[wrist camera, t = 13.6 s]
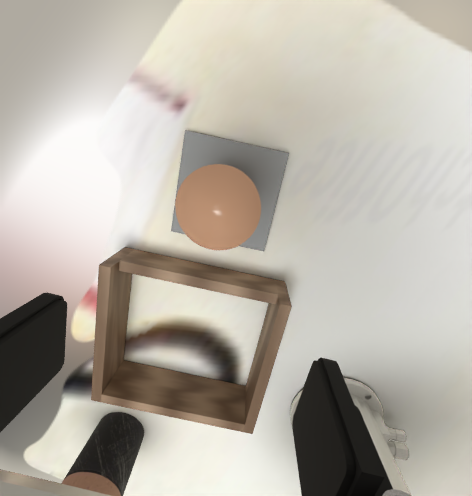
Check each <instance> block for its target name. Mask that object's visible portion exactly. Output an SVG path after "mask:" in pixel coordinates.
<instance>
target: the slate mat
mask: <svg viewBox="0 0 472 496" xmlns="http://www.w3.org/2000/svg"><path fill="white" fill-rule="evenodd" d="M288 156H289V153H287V152H282V151H278V150H273V149H269V148H264V147H259V146H255V145H250V144H246V143H241V142H237V141H232V140H228V139H223V138H219V137H214V136H210V135H205V134H200V133H196V132H191V131H187V130H185V135H184V142H183V149H182V156H181V164H180V171H179V178H178V185H177V192H176V196H177V193H178V190H179V188H180V186H181V184H182V182H183V181H184V180H185V179H186V177H187V176H188V175H190V174H191V173H192V172H193V171H195V170H197V169H199V168H201V167H203V166H207V165H213V164H225V165H229V166H233V167H235V168H237V169H239V170H241V171H243V172H244V173H245V174H246V175H247V176H248V177H249V178H250V179H251V180H252V181H253V183H254V184H255V186H256V188H257V190H258V193H259V197H260V201H261V215H260V220H259V223H258V225H257V228H256V229H255V231H254V233H253V234H252V235H251V236H250V238H248V239H247V240H246V241H245V242H244V243H242V244H241V245H239V246H242V247H247V248H251V249H256V250H260V251H264V250H265V246H266V242H267V238H268V234H269V230H270V226H271V222H272V219H273V215H274V211H275V207H276V203H277V199H278V195H279V191H280V187H281V183H282V179H283V175H284V171H285V167H286V164H287V160H288ZM175 202H176V199H175ZM171 231H173V232H177V233H182V234H185V233H184V232H183V230H182V228H181V227H180V225H179V222H178V219H177V216H176V210H175V207H174V214H173V221H172V228H171Z"/></svg>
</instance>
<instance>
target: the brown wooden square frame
mask: <svg viewBox="0 0 472 496" xmlns="http://www.w3.org/2000/svg"><path fill="white" fill-rule="evenodd" d="M132 274H137V275H141V276H146V277H151V278H155V279H160V280H165V281H169V282H174V283H178V284H183V285H188V286H192V287H197V288H202V289H206V290H211V291H216V292H220V293H225V294H230V295H234V296H239V297H244V298H248V299H253V300H258V301H262V302H267V303H269V305H268V309H267V312H266V316H265V319H264V323H263V327H262V330H261V334H260V337H259V341H258V345H257V348H256V352H255V355H254V359H253V363H252V366H251V370H250V373H249V377H248V381H247V384H246V386H243V385H238V384H234V383H229V382H224V381H219V380H215V379H210V378H205V377H200V376H196V375H191V374H186V373H182V372H177V371H172V370H167V369H163V368H158V367H153V366H148V365H144V364H139V363H134V362H130V361H125V360H124V350H125V340H126V330H127V320H128V310H129V300H130V290H131V280H132ZM291 307H292V306H291V302H290V298H289V295H288V291H287V287H286V283H285V282H284V281H279V280H275V279H270V278H265V277H261V276H256V275H252V274H247V273H242V272H238V271H233V270H228V269H224V268H219V267H214V266H210V265H205V264H201V263H196V262H191V261H187V260H182V259H177V258H173V257H168V256H163V255H159V254H154V253H150V252H145V251H140V250H136V249H131V248H126V247H124V248H123V249H122V250H120V251H119V252H117V253H116V254H114V255H113V256H111V257H110V258H109V259H107V260H106V261H104V262H103V263H101V264H100V265H99V275H98V293H97V310H96V327H95V344H94V345H95V346H94V362H93V379H92V396H91V400H93V401H98V402H103V403H107V404H112V405H117V406H122V407H126V408H131V409H136V410H141V411H146V412H150V413H155V414H160V415H165V416H169V417H174V418H179V419H184V420H188V421H193V422H198V423H203V424H208V425H212V426H217V427H222V428H227V429H231V430H236V431H241V432H246V433H250V434H253V430H254V427H255V424H256V421H257V417H258V414H259V411H260V408H261V404H262V401H263V398H264V395H265V391H266V388H267V385H268V382H269V378H270V375H271V372H272V369H273V365H274V362H275V359H276V356H277V352H278V349H279V346H280V342H281V339H282V336H283V333H284V329H285V326H286V323H287V320H288V316H289V313H290V310H291Z"/></svg>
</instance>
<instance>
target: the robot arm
mask: <svg viewBox="0 0 472 496" xmlns="http://www.w3.org/2000/svg"><path fill="white" fill-rule="evenodd" d="M66 318H67V302H66V301H64V299H63V297H62V296H59V295H55V294H51V293H43V294H41V295H39V296H38V297H36V298H34V299H33V300H31V301H29V302H28V303H26V304H24V305H23V306H21V307H19V308H18V309H16V310H14V311H13V312H11V313H9V314H7V315H6V316H4V317H2V318H1V319H0V432H1V431H2V430H3V429H4V428H5V427H6V426H7V425H8V424H9V423H10V422H11V421H12V420H13V419H14V418H15V417H16V415H18V413H20V411H21V410H22V409H23V408H24V407H25V406H26V405H27V404H28V403H29V402H30V401H31V400H32V399H33V398H34V397H35V396H36V395H37V394H38V393H39V392H40V391H41V390H42V389H43V388H44V386H46V385H47V383H48V382H49V381H50V380H51V379H52V378H53V377H54V376H55V375H56V374H57V373H58V372H59V371H60V370H61V368H62V366H63V364H64V357H65V337H66ZM290 416H291V423H292V427H293V435H294V442H295V449H296V456H297V464H298V471H299V478H300V485H301V493H302V496H411V494H410V491H409V489H408V487H407V485H406V483H405V481H404V479H403V477H402V474H401V472H400V470H399V468H398V466H397V464H396V462H395V460H394V458H398V459H402V460H407V459H408V458H409V450H408V447H407V446H406V444H405V443H401V442H405V441H406V434H405V432H404V431H403V430H399V429H394V428H388V426H387V425H385V423H384V421H383V416H384V412H383V408H382V405H381V403H380V401H379V399H378V397H377V396H376V394H375V393H374V392H373V391H372V390H371V389H370V388H369V387H368V386H366V385H364V384H363V383H361V382H358V381H356V380H352V379H348V378H343V375H342V373H341V370H340V368H339V366H338V363H337V362H336V361H333V360H329V359H325V358H319V360H318V361H313V363H312V366H311V369H310V371H309V374H308V377H307V380H306V382H305V385H304V388H303V390H302V391H300V392H299V393H298V395H297V396H296V397H295V399H294V401H293V403H292V405H291V410H290ZM389 439H393V440H395V441H392V440H390V441H389ZM396 441H400V442H396ZM0 496H111V495H107V494H103V493H98V492H94V491H90V490H86V489H82V488H78V487H73V486H69V485H65V484H60V483H57V482H52V481H48V480H43V479H39V478H35V477H31V476H26V475H22V474H18V473H14V472H9V471H5V470H1V469H0Z"/></svg>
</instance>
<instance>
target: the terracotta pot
mask: <svg viewBox="0 0 472 496" xmlns="http://www.w3.org/2000/svg"><path fill="white" fill-rule="evenodd" d="M175 210H176V216H177V219H178V222H179V225H180V227H181V228H182V230H183V232H184V233H185V234H186V235H187V236H188V237H189V238H190V239H191V240H192V241H193V242H195V243H196V244H198V245H200V246H202V247H204V248H208V249H212V250H227V249H231V248H234V247H237V246H239V245H241V244H242V243H244V242H245V241H246V240H247V239H248V238H250V236H251V235H252V234H253V233H254V231H255V229H256V228H257V225H258V223H259V220H260V215H261V201H260V197H259V193H258V190H257V188H256V186H255V184H254V183H253V181H252V180H251V179H250V178H249V177H248V176H247V175H246V174H245V173H244V172H243V171H241V170H239V169H237V168H235V167H233V166H229V165H225V164H213V165H207V166H203V167H201V168H199V169H197V170H195V171H193V172H192V173H191V174H190V175H188V176H187V177H186V179H185V180H184V181H183V182H182V184H181V186H180V188H179V190H178V193H177V196H176V202H175Z"/></svg>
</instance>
